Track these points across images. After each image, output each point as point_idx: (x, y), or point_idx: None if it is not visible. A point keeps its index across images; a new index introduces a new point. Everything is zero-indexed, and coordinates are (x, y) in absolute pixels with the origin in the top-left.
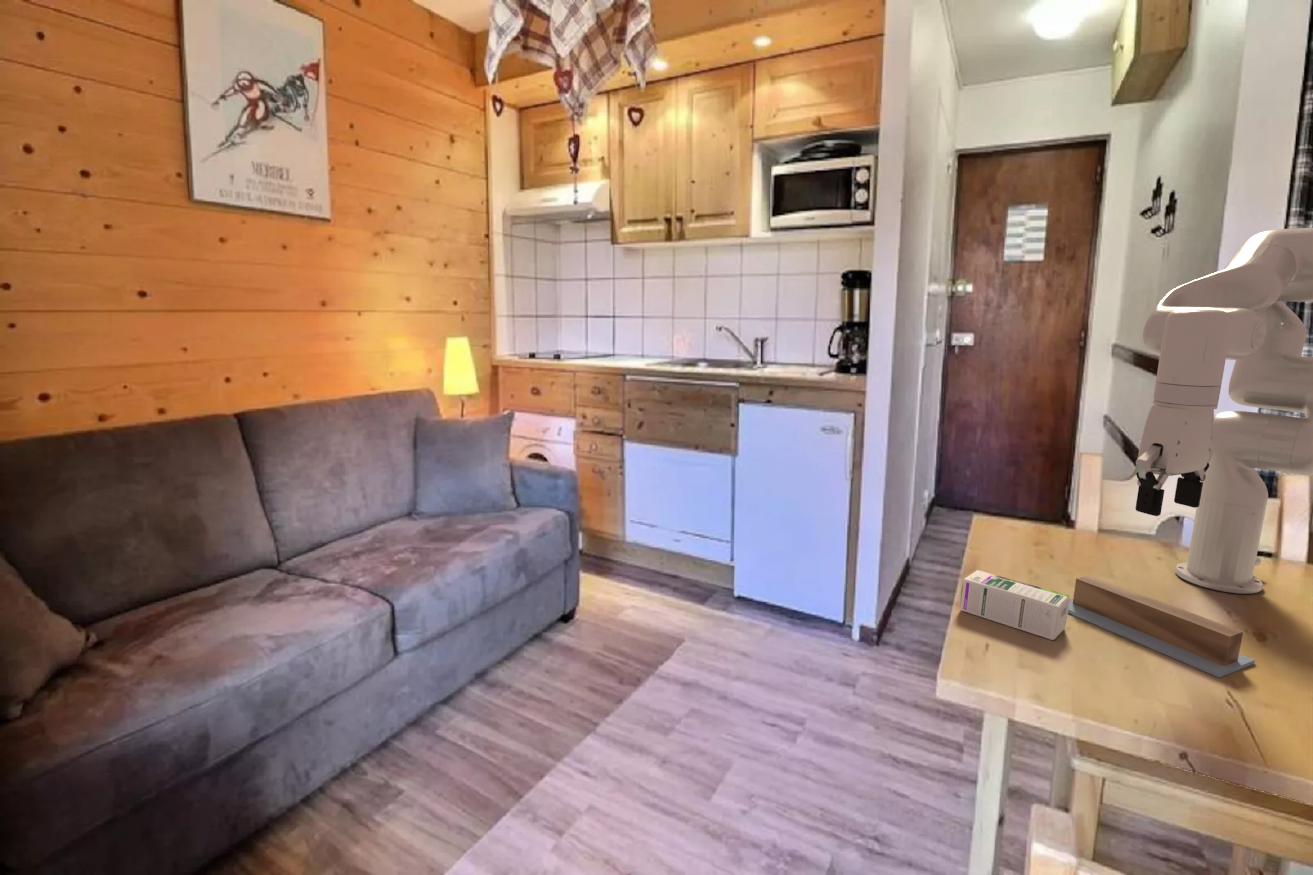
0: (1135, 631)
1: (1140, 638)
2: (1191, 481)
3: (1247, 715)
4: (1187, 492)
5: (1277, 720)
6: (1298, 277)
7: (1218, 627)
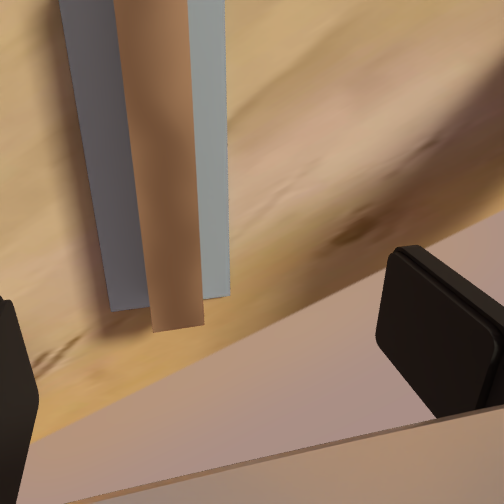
0: (120, 141)
1: (96, 169)
2: (480, 408)
3: None
4: (424, 345)
5: (66, 401)
6: None
7: (175, 301)
